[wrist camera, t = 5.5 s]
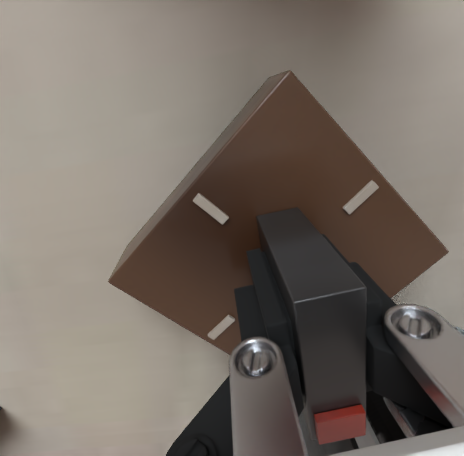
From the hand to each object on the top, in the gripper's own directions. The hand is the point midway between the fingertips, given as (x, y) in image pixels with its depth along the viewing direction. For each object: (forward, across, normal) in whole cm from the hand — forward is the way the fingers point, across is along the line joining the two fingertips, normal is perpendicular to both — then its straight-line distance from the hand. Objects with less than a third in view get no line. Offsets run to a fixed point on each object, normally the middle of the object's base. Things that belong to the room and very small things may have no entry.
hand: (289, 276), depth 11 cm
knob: (+1, 0, 0) cm, 1 cm away
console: (+4, 0, 0) cm, 4 cm away
